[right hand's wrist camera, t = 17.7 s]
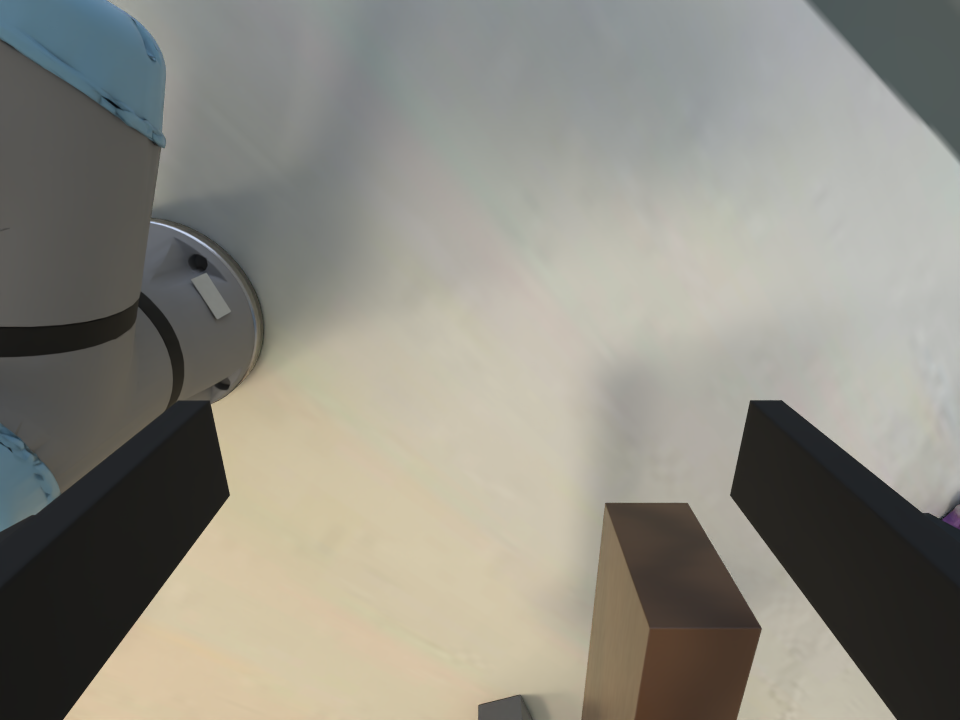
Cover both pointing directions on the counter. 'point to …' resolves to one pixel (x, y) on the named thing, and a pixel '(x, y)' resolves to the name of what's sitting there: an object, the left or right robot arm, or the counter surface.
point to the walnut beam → (665, 621)
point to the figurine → (953, 517)
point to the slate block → (504, 710)
